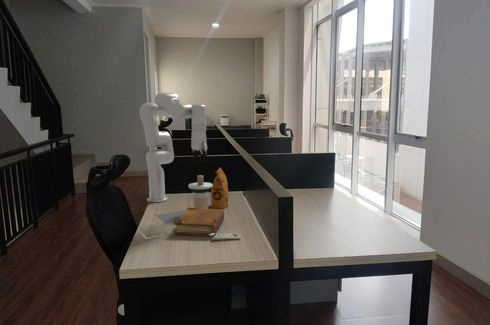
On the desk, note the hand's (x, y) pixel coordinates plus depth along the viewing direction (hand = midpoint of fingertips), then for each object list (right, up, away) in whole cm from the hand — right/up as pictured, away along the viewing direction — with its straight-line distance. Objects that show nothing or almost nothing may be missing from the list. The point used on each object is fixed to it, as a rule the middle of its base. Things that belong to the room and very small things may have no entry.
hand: (199, 160), depth 199 cm
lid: (0, -14, +2) cm, 15 cm away
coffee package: (+10, -27, +18) cm, 34 cm away
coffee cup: (0, -29, +5) cm, 30 cm away
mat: (-12, -30, -3) cm, 33 cm away
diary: (+3, -33, -18) cm, 37 cm away
